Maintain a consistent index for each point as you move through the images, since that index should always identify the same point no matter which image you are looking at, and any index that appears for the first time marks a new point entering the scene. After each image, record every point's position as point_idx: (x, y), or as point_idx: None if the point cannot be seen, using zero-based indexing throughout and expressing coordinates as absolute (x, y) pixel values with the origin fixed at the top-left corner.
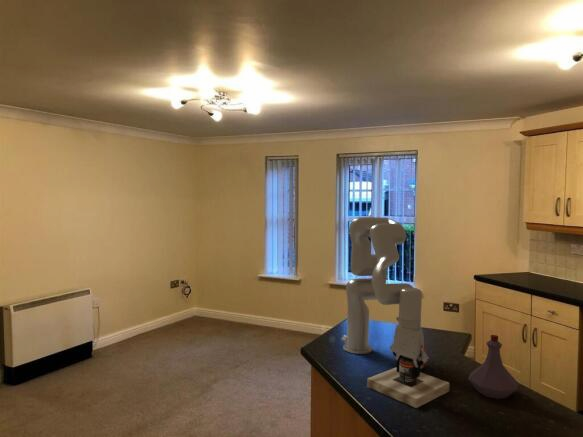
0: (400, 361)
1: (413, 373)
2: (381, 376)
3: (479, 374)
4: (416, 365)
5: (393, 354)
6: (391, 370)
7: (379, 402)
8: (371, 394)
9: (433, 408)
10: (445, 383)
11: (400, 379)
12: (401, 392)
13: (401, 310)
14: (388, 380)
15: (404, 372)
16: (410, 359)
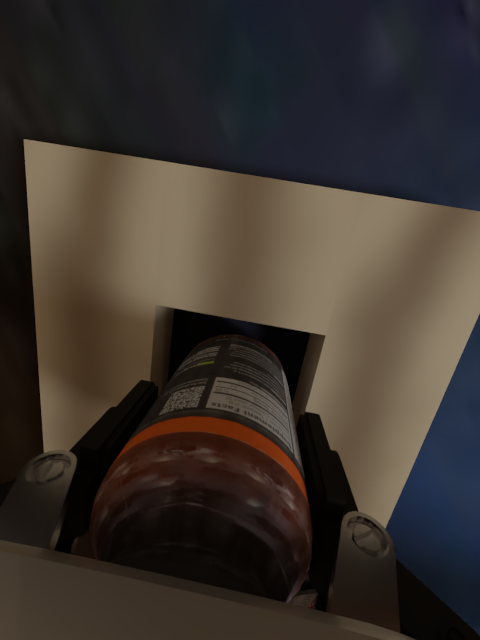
0: (273, 477)
1: (133, 401)
2: (418, 338)
3: None
4: (42, 471)
5: (457, 616)
6: (391, 474)
7: (283, 39)
8: (388, 124)
9: (16, 235)
10: None
11: (261, 356)
12: (158, 162)
13: None
14: (340, 305)
15: (213, 379)
16: (115, 555)
